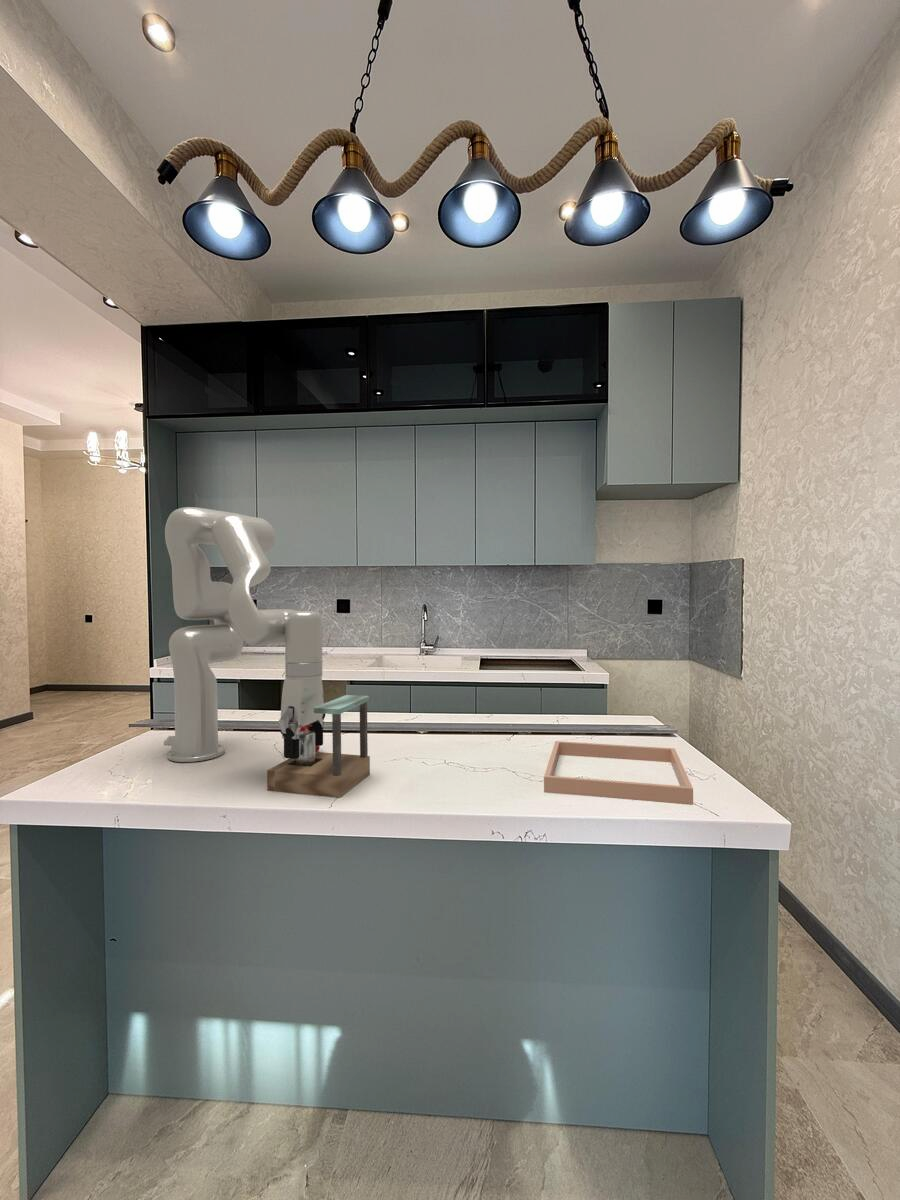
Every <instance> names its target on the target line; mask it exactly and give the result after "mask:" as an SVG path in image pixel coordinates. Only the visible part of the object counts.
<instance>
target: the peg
mask: <svg viewBox="0 0 900 1200" xmlns="http://www.w3.org/2000/svg"><path fill="white" fill-rule="evenodd" d="M297 739H299V758H298V759H296V765H297V766H309V767H311V766H312V765H314V764H315V732H314V731H301V732H299V734H298V737H297Z"/></svg>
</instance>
